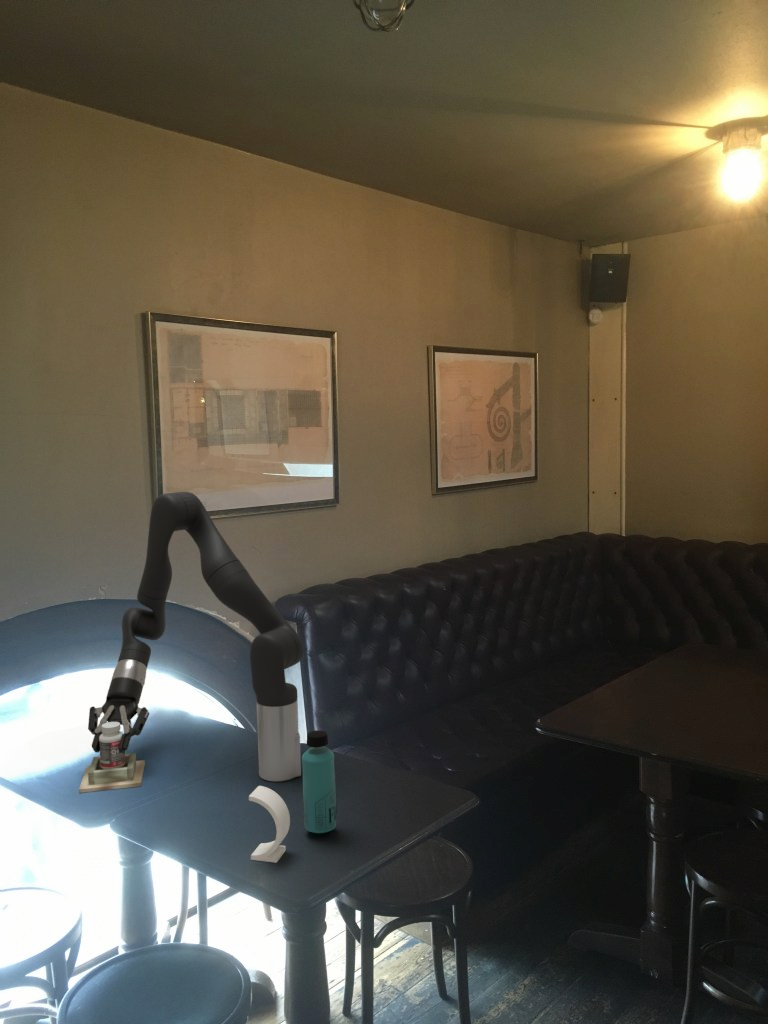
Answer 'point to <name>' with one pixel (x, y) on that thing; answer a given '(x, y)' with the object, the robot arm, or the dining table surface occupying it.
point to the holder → (113, 775)
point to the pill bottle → (111, 746)
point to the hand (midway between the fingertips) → (108, 751)
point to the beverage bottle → (319, 784)
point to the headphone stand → (282, 821)
